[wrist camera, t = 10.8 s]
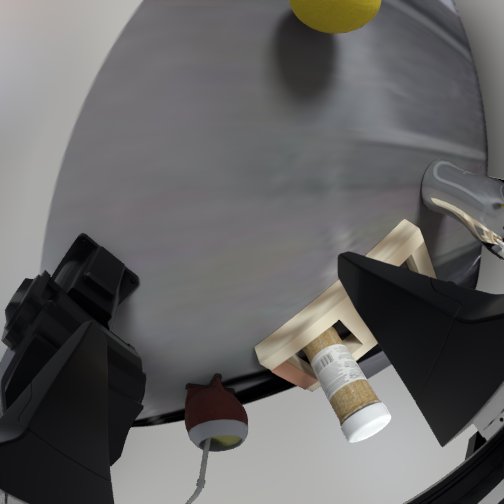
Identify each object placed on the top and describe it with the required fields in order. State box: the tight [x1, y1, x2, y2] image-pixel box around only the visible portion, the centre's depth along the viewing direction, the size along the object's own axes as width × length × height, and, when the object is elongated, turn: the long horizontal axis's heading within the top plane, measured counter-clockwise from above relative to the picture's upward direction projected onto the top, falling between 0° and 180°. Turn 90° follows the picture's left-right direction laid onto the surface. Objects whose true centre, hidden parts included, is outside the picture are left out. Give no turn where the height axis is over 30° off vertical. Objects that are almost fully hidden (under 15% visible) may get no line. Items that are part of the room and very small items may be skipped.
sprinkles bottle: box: [302, 326, 391, 443], centre depth 25 cm, size 5×5×14 cm
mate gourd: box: [185, 374, 248, 504], centre depth 25 cm, size 8×8×15 cm
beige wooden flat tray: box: [254, 219, 436, 392], centre depth 29 cm, size 21×11×3 cm, turn 131°
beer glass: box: [421, 159, 504, 261], centre depth 19 cm, size 7×7×15 cm
